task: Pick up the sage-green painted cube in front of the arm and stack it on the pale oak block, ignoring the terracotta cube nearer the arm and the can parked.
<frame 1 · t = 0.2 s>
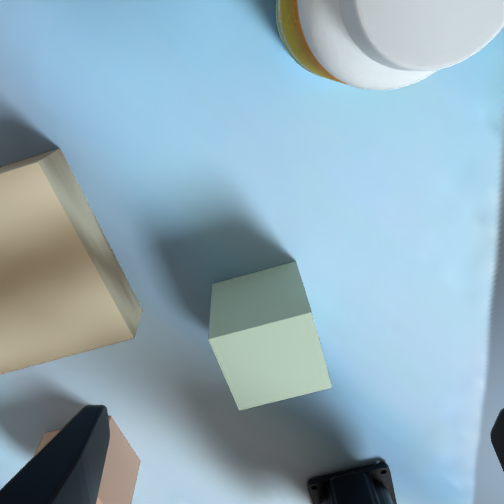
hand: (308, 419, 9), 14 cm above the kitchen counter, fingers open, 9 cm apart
supplement bottle: (335, 9, 17), on the kitchen counter
terracotta cube: (94, 446, 29), on the kitchen counter
sage cube: (264, 306, 24), on the kitchen counter
oak block: (24, 258, 22), on the kitchen counter
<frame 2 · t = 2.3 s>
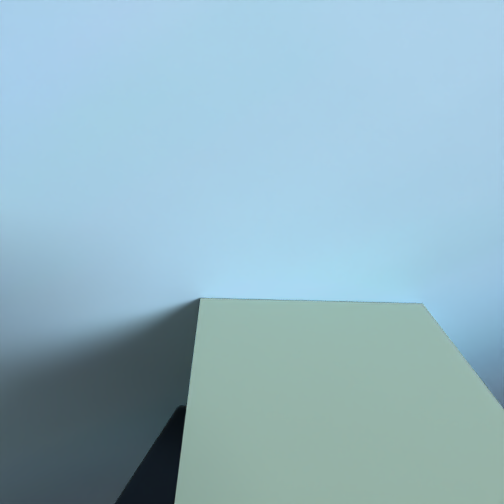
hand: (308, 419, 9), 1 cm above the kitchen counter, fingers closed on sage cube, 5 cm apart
sage cube: (301, 385, 10), on the kitchen counter, touching gripper
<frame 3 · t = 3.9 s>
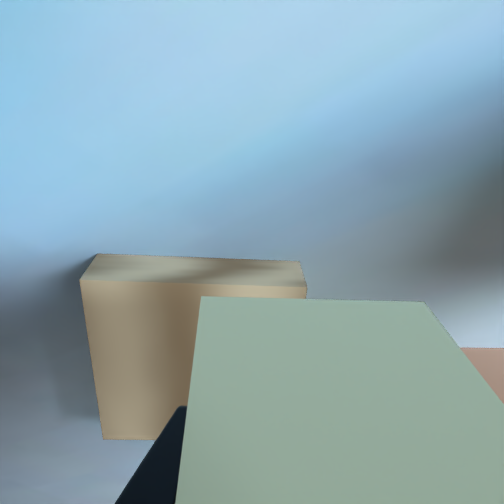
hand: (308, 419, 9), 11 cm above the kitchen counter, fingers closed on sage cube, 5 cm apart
terracotta cube: (449, 379, 24), on the kitchen counter
sage cube: (301, 384, 10), point 10 cm above the kitchen counter, touching gripper
oak block: (200, 333, 23), on the kitchen counter
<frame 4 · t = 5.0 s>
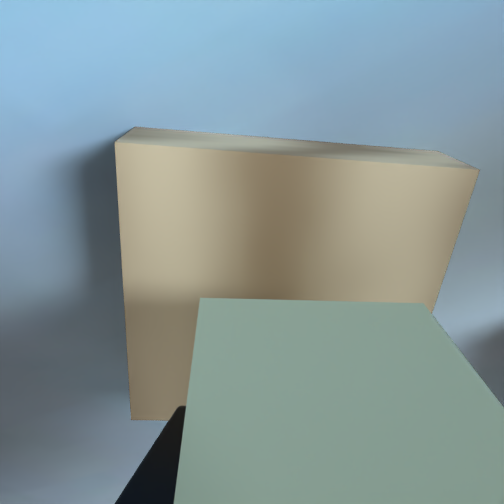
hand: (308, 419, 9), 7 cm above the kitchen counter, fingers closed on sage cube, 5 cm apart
sage cube: (301, 385, 10), point 6 cm above the kitchen counter, touching gripper
oak block: (273, 267, 16), on the kitchen counter
when the fingers open (4 cm above the kitchen counter, at t = 6.0 s): sage cube stays where it is, point 2 cm above the kitchen counter.
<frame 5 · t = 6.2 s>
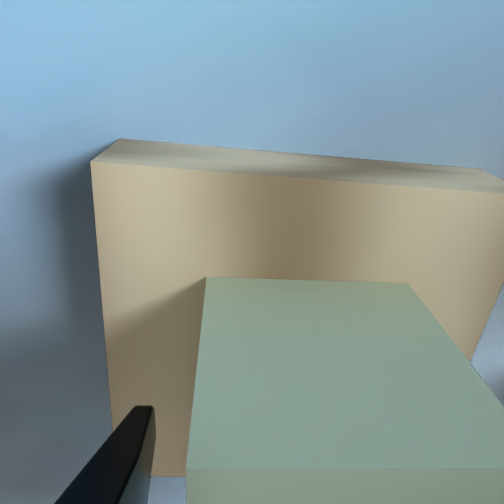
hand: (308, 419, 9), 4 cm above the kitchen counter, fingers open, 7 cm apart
sage cube: (297, 359, 11), point 2 cm above the kitchen counter
oak block: (281, 298, 14), on the kitchen counter
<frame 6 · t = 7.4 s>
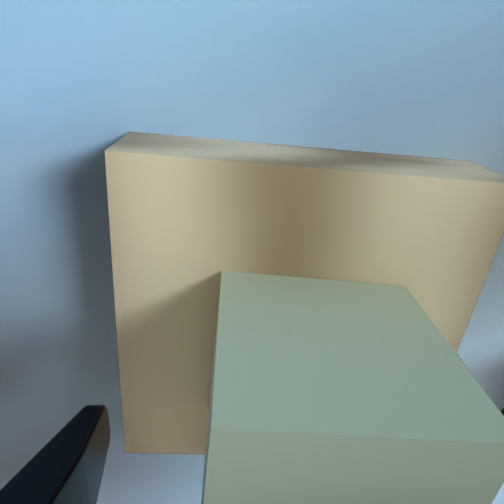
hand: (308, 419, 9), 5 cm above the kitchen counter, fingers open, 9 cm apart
sage cube: (299, 352, 12), point 2 cm above the kitchen counter, touching oak block
oak block: (281, 285, 14), on the kitchen counter, touching sage cube
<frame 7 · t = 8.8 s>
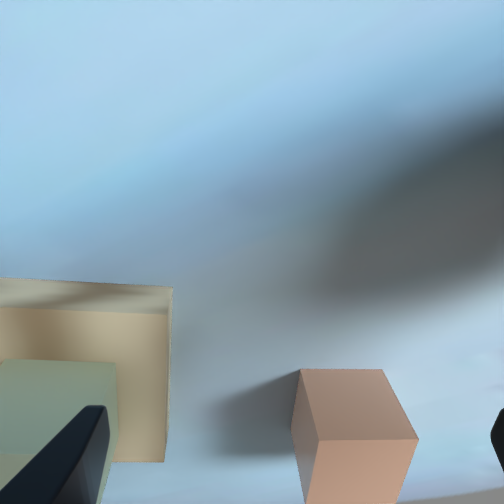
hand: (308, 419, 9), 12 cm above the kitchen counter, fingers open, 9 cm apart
terracotta cube: (334, 399, 25), on the kitchen counter
sage cube: (65, 400, 20), point 2 cm above the kitchen counter, touching oak block
oak block: (81, 353, 23), on the kitchen counter, touching sage cube
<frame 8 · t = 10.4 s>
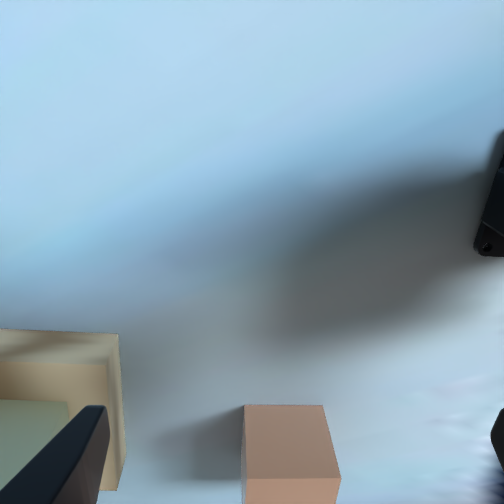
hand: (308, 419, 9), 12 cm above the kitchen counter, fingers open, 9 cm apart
terracotta cube: (280, 431, 27), on the kitchen counter
sage cube: (24, 433, 22), point 2 cm above the kitchen counter
oak block: (41, 390, 25), on the kitchen counter
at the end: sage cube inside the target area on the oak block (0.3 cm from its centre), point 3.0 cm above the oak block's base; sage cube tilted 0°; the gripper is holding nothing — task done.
